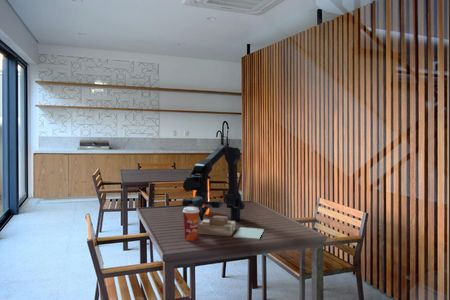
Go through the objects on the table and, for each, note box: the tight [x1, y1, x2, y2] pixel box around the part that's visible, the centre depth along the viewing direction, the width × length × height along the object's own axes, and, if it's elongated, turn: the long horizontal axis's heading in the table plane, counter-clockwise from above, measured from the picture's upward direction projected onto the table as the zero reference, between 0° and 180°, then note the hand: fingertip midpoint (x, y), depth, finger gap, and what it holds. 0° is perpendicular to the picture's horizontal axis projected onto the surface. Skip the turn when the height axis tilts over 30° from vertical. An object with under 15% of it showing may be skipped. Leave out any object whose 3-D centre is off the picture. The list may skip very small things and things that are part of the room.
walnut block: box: [209, 215, 229, 226], centre depth 177 cm, size 9×7×2 cm
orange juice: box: [192, 179, 210, 215], centre depth 216 cm, size 8×9×20 cm
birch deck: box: [198, 218, 237, 237], centre depth 178 cm, size 12×16×4 cm
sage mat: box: [233, 227, 265, 240], centre depth 174 cm, size 16×12×1 cm
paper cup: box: [182, 206, 200, 242], centre depth 165 cm, size 8×8×14 cm
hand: (201, 220), depth 179 cm, fingers closed
